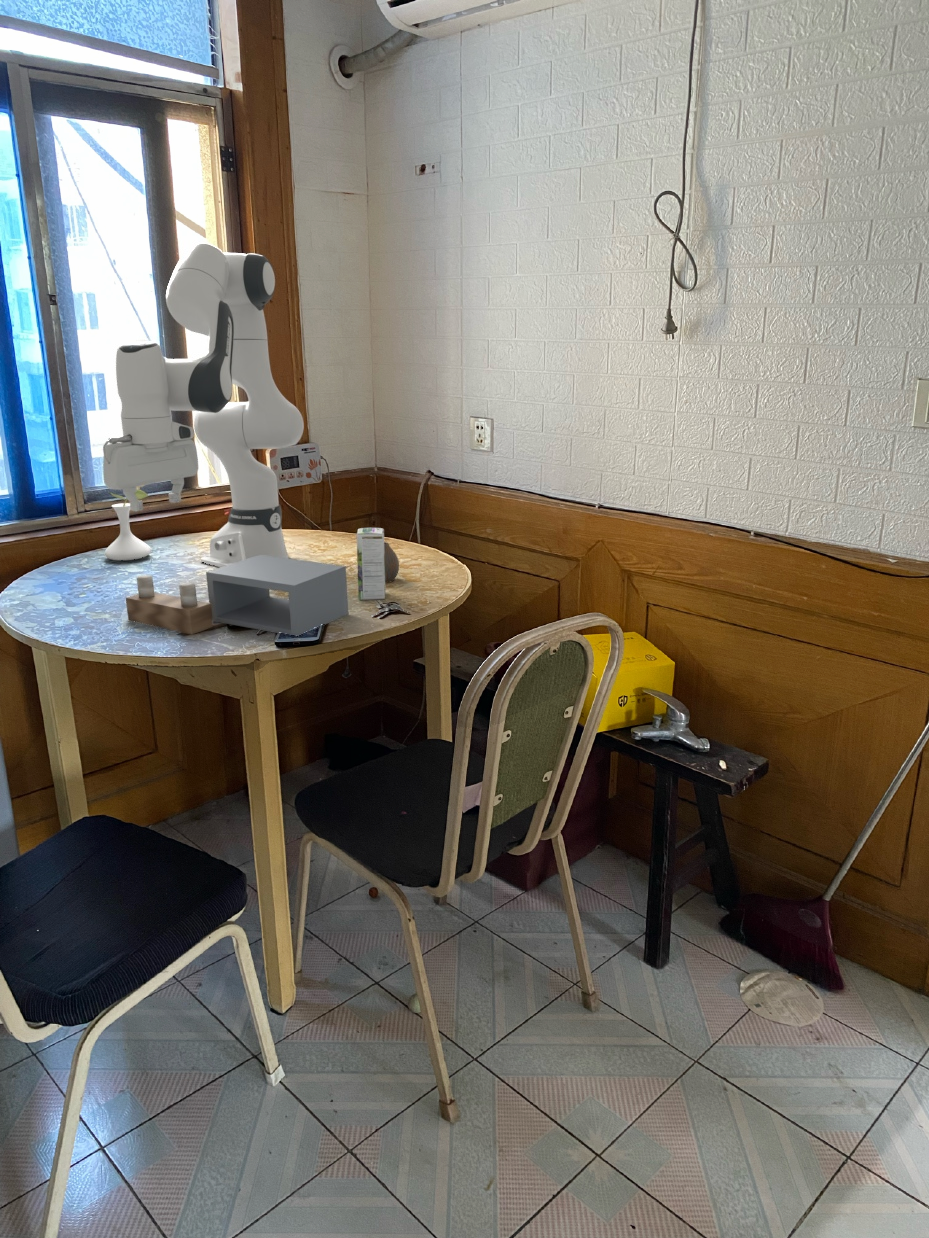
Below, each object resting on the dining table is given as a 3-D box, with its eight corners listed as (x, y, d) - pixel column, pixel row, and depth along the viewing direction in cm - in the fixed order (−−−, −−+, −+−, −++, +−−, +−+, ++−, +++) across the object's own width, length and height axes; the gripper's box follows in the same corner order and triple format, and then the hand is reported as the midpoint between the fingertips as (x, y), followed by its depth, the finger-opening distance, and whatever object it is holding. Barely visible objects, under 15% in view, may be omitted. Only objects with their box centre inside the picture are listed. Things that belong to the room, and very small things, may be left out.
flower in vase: (102, 565, 227) (88, 464, 219) (108, 555, 237) (95, 458, 230) (157, 561, 229) (145, 461, 222) (160, 551, 240) (149, 455, 232)
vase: (394, 585, 206) (393, 547, 203) (365, 583, 207) (363, 546, 204) (403, 577, 212) (401, 540, 210) (374, 576, 214) (372, 539, 211)
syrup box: (359, 593, 200) (356, 527, 195) (386, 592, 200) (383, 527, 196) (358, 600, 194) (355, 533, 190) (386, 599, 195) (383, 532, 190)
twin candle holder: (128, 621, 183) (122, 578, 180) (150, 614, 188) (145, 572, 185) (192, 635, 174) (187, 590, 172) (213, 627, 179) (209, 583, 176)
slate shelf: (211, 620, 182) (206, 572, 179) (264, 600, 195) (260, 554, 192) (297, 636, 172) (294, 585, 169) (348, 614, 185) (345, 566, 182)
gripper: (114, 439, 159) (124, 517, 164) (200, 428, 176) (207, 499, 181) (90, 437, 162) (100, 514, 167) (176, 426, 179) (183, 496, 184)
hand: (156, 506), depth 174 cm, fingers open, 8 cm apart
